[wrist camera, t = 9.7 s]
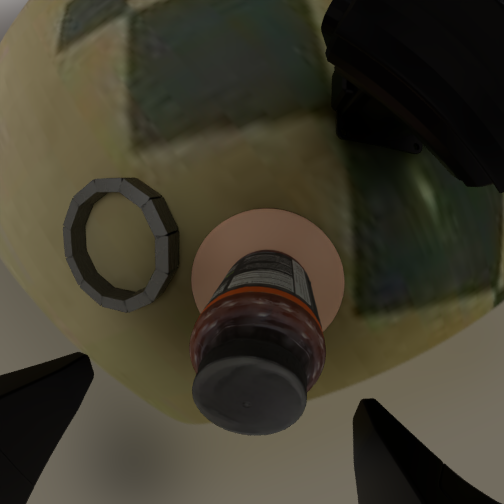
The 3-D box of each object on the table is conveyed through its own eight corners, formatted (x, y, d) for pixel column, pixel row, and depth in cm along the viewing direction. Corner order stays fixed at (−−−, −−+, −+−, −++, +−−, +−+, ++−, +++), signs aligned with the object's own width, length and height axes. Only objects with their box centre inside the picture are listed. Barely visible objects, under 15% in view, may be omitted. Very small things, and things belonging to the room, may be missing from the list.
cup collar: (181, 178, 19) (169, 177, 17) (179, 310, 21) (170, 321, 19) (77, 179, 20) (62, 180, 18) (83, 290, 22) (70, 298, 21)
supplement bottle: (296, 334, 20) (298, 461, 9) (219, 313, 20) (160, 426, 9) (322, 259, 18) (365, 358, 7) (237, 236, 18) (171, 308, 8)
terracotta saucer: (352, 217, 18) (355, 218, 17) (327, 352, 21) (328, 358, 20) (196, 202, 19) (193, 203, 18) (195, 337, 22) (192, 342, 21)
